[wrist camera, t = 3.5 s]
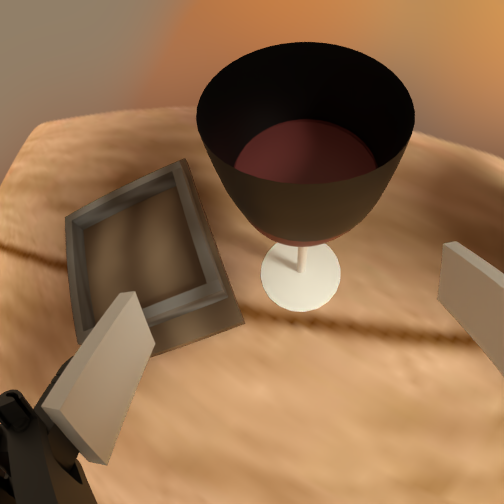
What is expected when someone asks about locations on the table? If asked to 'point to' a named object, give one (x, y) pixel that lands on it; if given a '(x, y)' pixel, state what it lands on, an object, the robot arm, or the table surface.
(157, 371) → the table surface
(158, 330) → the tray
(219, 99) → the wineglass
